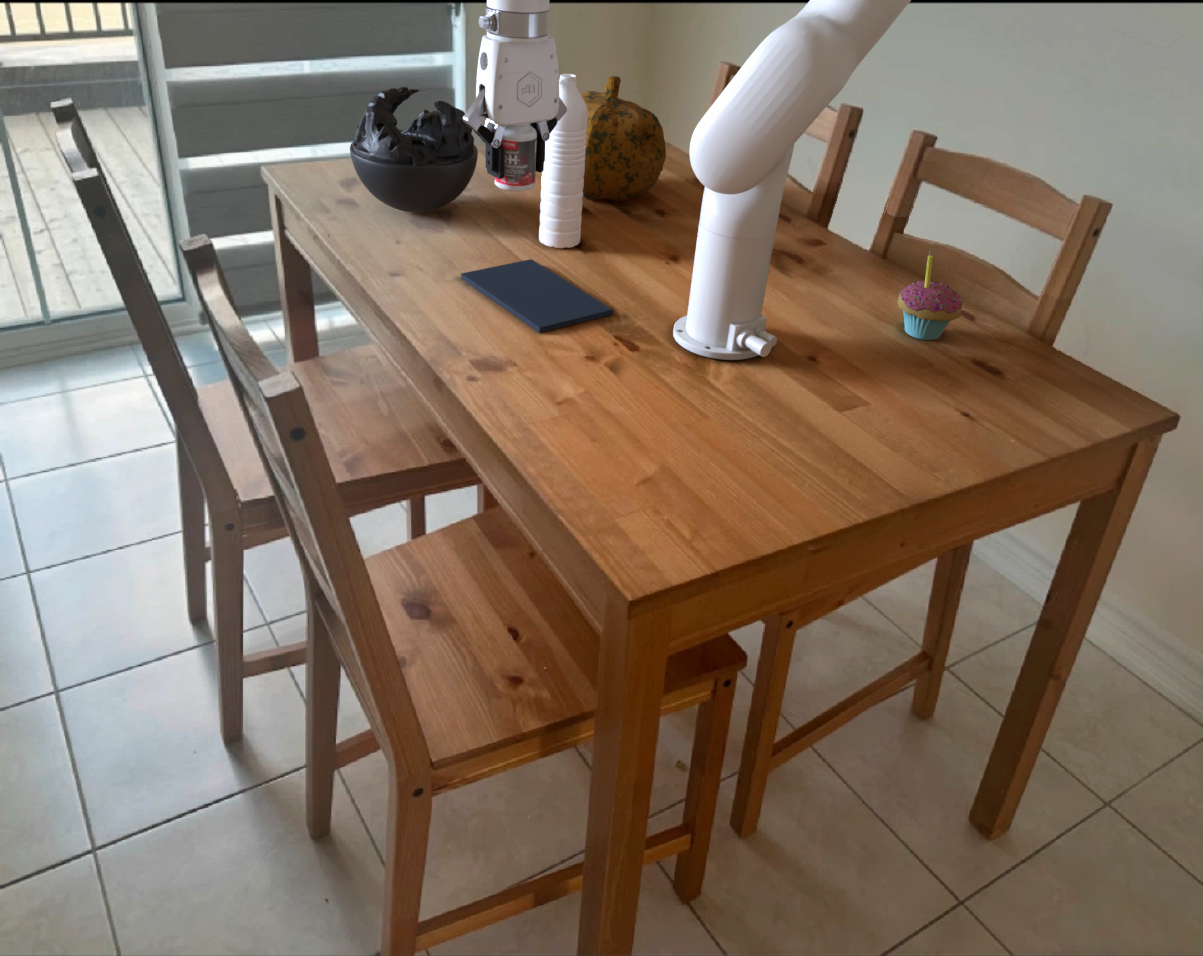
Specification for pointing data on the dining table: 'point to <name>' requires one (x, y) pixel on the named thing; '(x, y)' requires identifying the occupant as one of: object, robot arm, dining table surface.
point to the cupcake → (928, 306)
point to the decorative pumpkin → (620, 146)
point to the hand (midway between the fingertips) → (515, 171)
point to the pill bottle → (518, 158)
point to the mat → (536, 295)
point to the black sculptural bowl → (413, 154)
